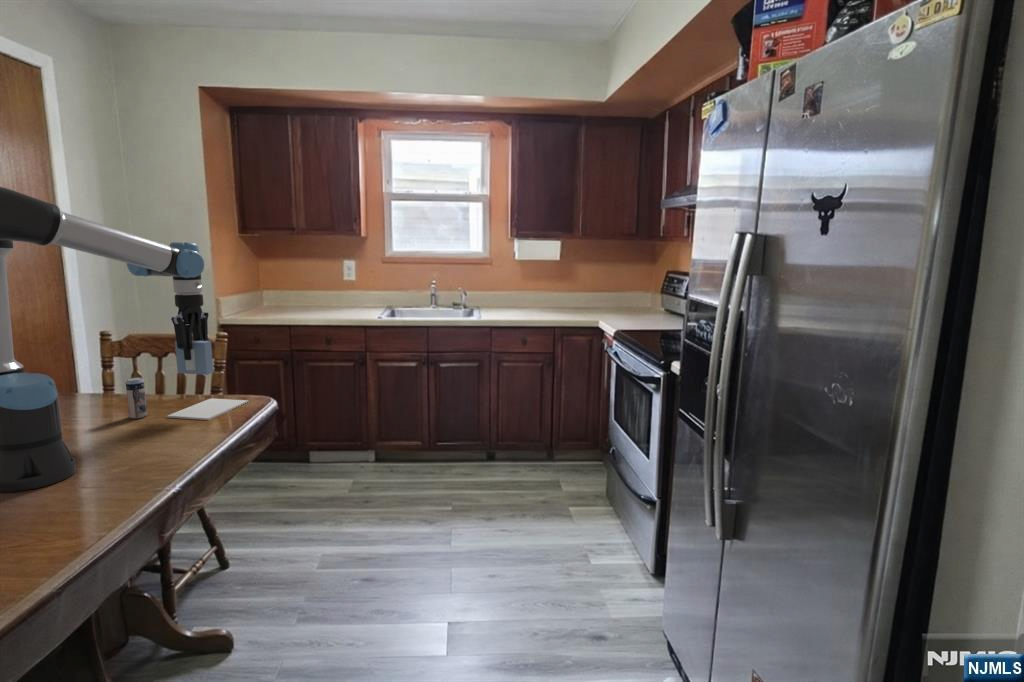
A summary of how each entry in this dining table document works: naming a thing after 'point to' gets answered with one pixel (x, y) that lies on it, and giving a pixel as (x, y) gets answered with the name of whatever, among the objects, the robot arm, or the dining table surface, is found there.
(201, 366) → the block
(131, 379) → the beer can
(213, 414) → the mat
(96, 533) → the dining table surface
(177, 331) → the robot arm
